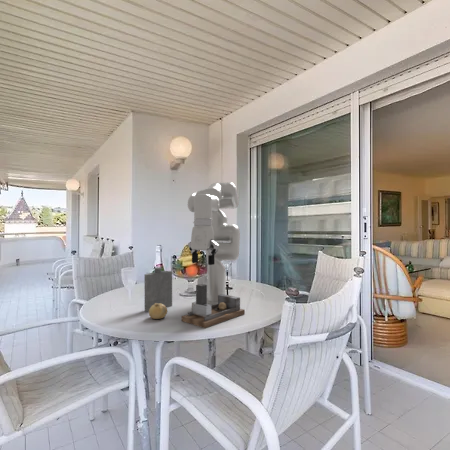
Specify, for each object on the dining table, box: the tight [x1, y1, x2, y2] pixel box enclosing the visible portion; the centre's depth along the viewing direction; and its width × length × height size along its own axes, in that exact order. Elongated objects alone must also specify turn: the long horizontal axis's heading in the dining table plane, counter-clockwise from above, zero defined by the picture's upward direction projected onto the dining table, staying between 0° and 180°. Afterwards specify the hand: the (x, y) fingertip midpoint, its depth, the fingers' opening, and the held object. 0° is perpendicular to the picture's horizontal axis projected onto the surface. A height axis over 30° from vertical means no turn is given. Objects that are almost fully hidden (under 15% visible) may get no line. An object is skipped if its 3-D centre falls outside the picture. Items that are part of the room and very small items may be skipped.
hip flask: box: [144, 266, 173, 313], centre depth 157 cm, size 16×4×20 cm, turn 139°
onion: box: [148, 303, 168, 320], centre depth 141 cm, size 8×8×7 cm
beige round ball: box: [219, 302, 226, 310], centre depth 147 cm, size 4×4×4 cm
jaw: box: [191, 284, 212, 317], centre depth 136 cm, size 9×3×13 cm, turn 49°
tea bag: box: [196, 275, 207, 285], centre depth 196 cm, size 4×7×10 cm, turn 39°
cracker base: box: [181, 294, 246, 329], centre depth 142 cm, size 14×26×8 cm, turn 139°
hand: (203, 263), depth 136 cm, fingers open, 9 cm apart
